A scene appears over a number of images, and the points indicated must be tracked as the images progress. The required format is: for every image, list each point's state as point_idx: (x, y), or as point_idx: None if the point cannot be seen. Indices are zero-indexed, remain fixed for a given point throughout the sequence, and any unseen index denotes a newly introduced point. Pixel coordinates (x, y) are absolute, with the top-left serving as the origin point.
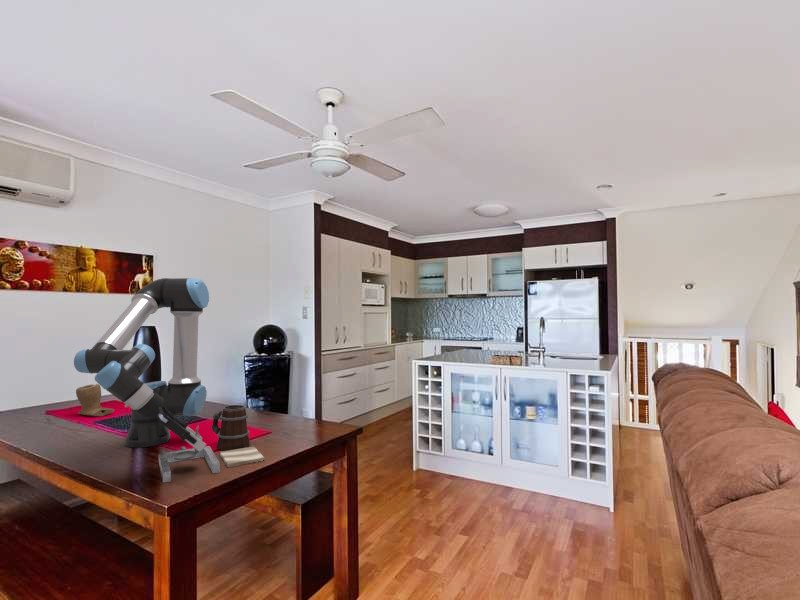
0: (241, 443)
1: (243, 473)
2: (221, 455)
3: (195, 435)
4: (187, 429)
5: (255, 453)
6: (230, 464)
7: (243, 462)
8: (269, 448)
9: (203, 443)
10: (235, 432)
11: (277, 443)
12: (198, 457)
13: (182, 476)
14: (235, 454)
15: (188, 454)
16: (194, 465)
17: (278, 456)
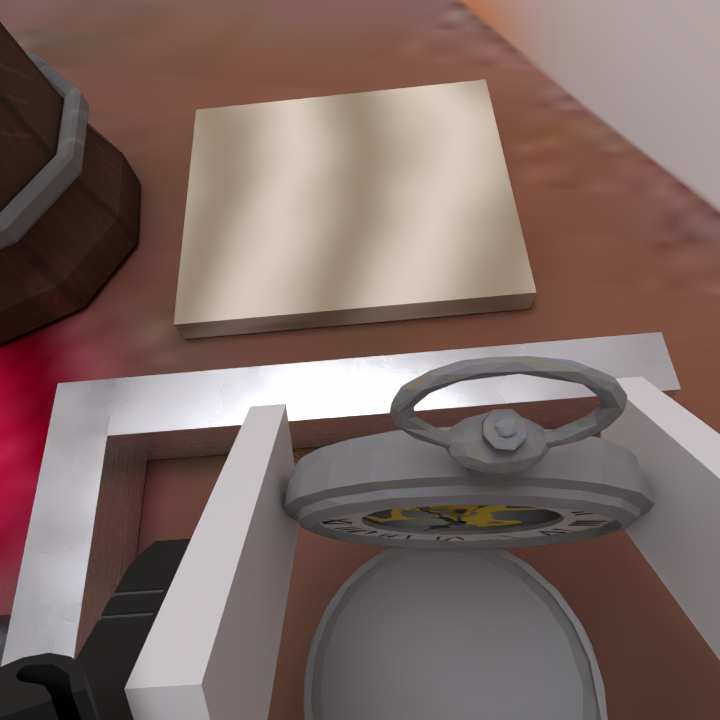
0: (117, 159)
1: (702, 225)
2: (254, 322)
3: (541, 501)
4: (226, 687)
5: (366, 114)
6: (530, 278)
7: (510, 198)
8: (237, 58)
9: (667, 404)
10: (31, 113)
11: (165, 17)
12: (139, 511)
13: (637, 705)
14: (316, 225)
15: (371, 631)
16: (343, 562)
17: (427, 34)
